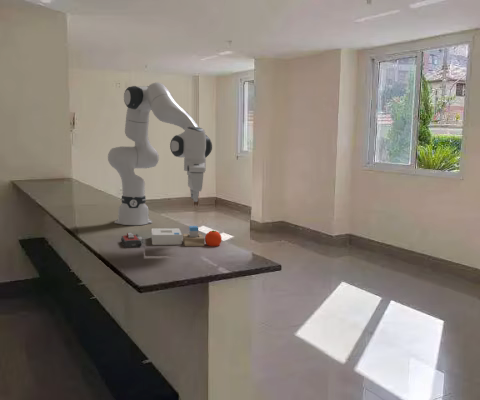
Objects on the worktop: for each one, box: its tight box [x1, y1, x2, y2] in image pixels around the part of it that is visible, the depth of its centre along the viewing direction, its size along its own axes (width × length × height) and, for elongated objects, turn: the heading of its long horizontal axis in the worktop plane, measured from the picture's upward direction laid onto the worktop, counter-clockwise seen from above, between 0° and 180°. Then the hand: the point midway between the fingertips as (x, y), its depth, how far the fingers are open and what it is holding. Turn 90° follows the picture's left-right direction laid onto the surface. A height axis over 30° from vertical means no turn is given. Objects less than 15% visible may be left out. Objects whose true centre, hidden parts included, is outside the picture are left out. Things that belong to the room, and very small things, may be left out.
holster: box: [182, 233, 205, 247], centre depth 206 cm, size 10×8×4 cm
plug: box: [188, 225, 199, 237], centre depth 206 cm, size 4×4×7 cm
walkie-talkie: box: [120, 232, 144, 248], centre depth 208 cm, size 9×4×20 cm
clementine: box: [204, 229, 222, 247], centre depth 205 cm, size 8×7×7 cm
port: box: [150, 227, 183, 246], centre depth 209 cm, size 14×12×5 cm
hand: (194, 200), depth 204 cm, fingers open, 8 cm apart
